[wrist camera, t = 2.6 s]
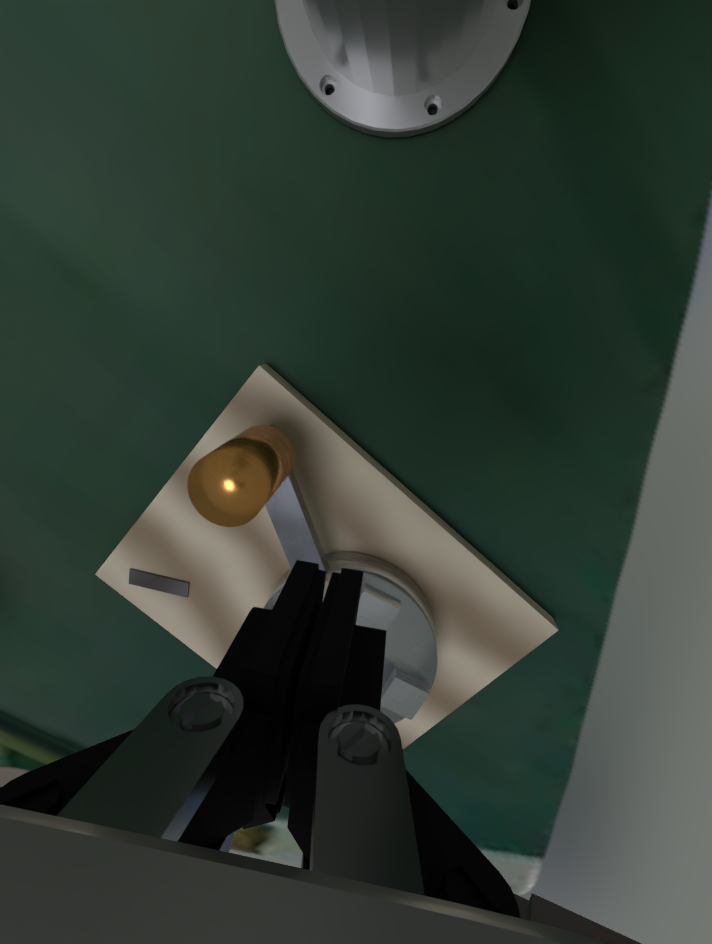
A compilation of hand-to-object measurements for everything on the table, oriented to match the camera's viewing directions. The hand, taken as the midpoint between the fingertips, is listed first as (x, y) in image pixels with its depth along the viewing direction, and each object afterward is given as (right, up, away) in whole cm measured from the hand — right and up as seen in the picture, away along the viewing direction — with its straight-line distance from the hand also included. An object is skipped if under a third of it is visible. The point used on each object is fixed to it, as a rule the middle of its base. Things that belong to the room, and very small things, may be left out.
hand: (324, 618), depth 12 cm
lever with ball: (-1, -3, +21) cm, 21 cm away
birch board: (-2, -5, +23) cm, 24 cm away
